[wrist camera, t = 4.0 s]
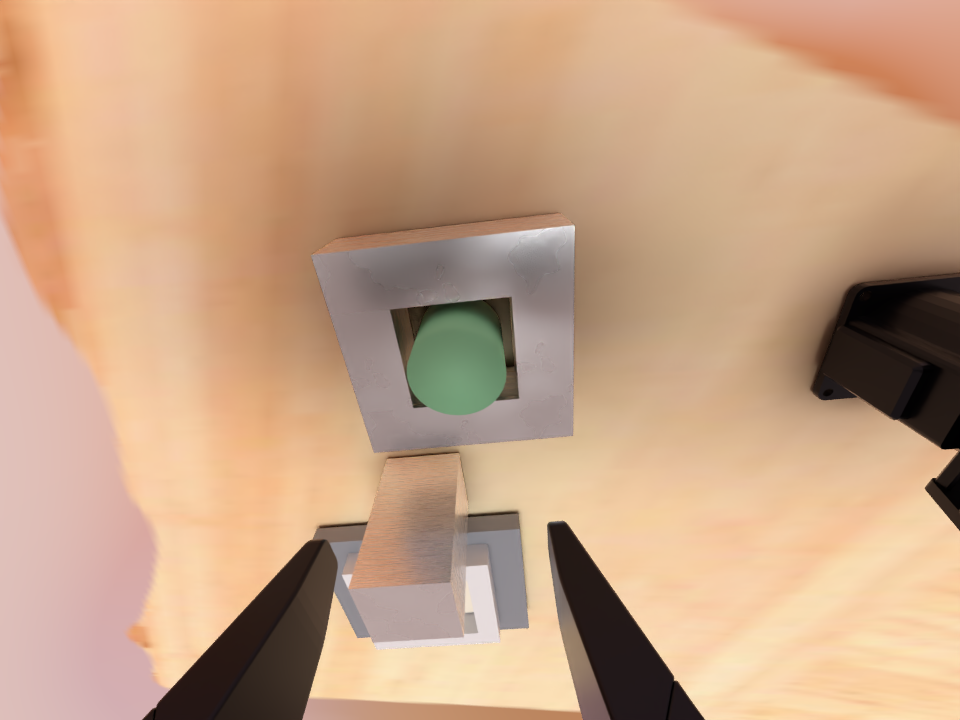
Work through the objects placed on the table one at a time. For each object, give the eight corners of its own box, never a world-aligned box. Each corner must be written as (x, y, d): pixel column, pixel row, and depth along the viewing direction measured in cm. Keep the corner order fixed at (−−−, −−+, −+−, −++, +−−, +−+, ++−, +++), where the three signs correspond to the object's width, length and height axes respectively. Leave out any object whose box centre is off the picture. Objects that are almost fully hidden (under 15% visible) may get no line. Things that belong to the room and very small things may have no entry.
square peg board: (559, 212, 17) (574, 225, 14) (561, 400, 22) (573, 435, 19) (336, 238, 17) (310, 255, 15) (386, 416, 22) (374, 452, 20)
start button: (497, 289, 18) (502, 325, 14) (504, 364, 20) (509, 410, 16) (413, 298, 18) (397, 335, 15) (427, 371, 20) (416, 419, 17)
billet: (459, 453, 24) (450, 582, 17) (468, 503, 26) (463, 637, 19) (386, 459, 24) (348, 589, 17) (402, 508, 26) (373, 642, 19)
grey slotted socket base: (518, 513, 26) (522, 550, 24) (527, 611, 32) (530, 649, 30) (317, 528, 27) (301, 565, 25) (361, 622, 33) (352, 659, 30)
